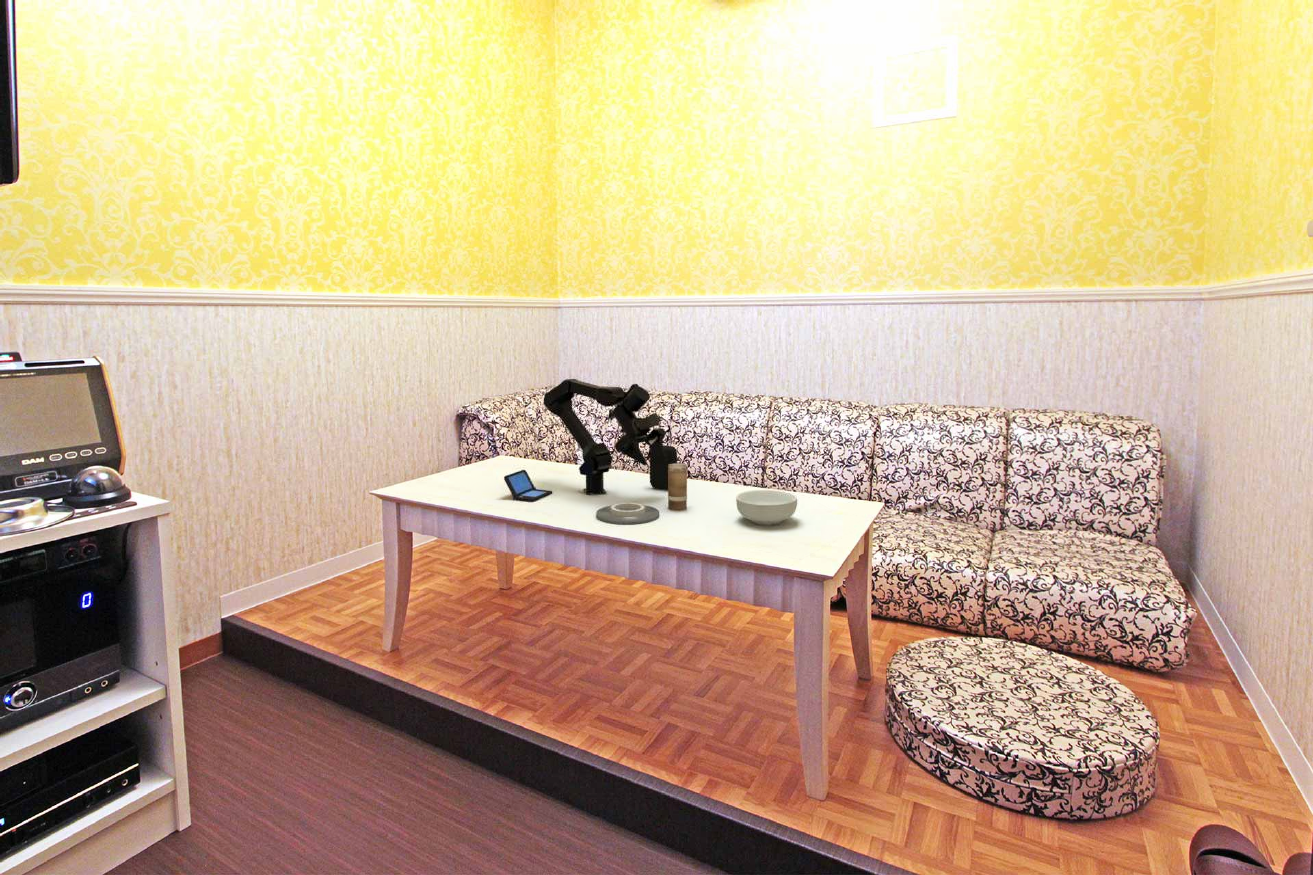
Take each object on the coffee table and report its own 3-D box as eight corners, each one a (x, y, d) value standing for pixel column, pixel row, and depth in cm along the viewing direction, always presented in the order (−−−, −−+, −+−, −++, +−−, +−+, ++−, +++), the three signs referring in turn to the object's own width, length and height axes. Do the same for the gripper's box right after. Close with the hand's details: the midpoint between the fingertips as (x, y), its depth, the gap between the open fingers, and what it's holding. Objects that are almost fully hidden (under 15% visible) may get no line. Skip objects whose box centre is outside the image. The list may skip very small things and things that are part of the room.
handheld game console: (533, 503, 221) (532, 479, 220) (503, 499, 225) (502, 476, 224) (554, 494, 232) (553, 471, 231) (525, 490, 237) (524, 468, 235)
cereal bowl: (756, 509, 213) (756, 486, 212) (807, 519, 203) (808, 495, 202) (723, 522, 201) (724, 497, 199) (776, 533, 190) (777, 507, 189)
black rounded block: (645, 488, 239) (645, 444, 237) (649, 486, 242) (649, 443, 239) (674, 492, 234) (674, 447, 232) (678, 490, 237) (678, 445, 234)
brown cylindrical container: (665, 506, 217) (665, 464, 214) (683, 505, 218) (683, 463, 216) (671, 511, 211) (671, 467, 209) (689, 510, 213) (689, 466, 211)
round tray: (591, 509, 213) (590, 501, 212) (650, 505, 218) (650, 497, 217) (602, 526, 196) (602, 517, 195) (666, 521, 200) (666, 513, 200)
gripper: (623, 408, 209) (651, 451, 205) (662, 402, 224) (690, 442, 219) (602, 431, 216) (629, 473, 211) (642, 423, 230) (668, 463, 225)
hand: (655, 462), depth 216 cm, fingers open, 9 cm apart
